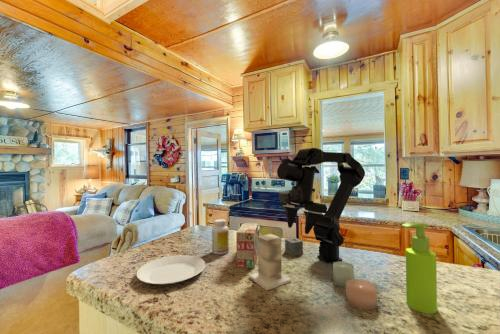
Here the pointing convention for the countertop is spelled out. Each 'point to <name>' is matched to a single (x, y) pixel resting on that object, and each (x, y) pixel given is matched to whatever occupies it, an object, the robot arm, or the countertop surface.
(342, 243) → the robot arm
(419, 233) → the soap dispenser
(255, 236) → the stack of blocks
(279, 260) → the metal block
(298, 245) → the dice cube
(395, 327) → the countertop surface
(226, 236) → the supplement bottle
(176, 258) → the plate
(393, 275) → the countertop surface
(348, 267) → the sage jar
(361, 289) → the pink soap bar
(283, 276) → the tile
